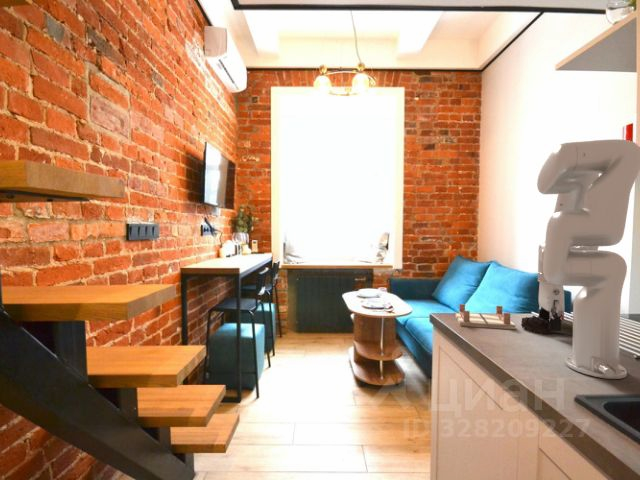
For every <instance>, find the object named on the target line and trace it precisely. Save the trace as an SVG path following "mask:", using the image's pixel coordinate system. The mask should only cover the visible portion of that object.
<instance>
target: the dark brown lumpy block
mask: <svg viewBox="0 0 640 480" xmlns="http://www.w3.org/2000/svg"><path fill="white" fill-rule="evenodd" d="M520 326H521V328H523V329H525V330H529V331H532V332H534V333H536V334H540V335H549V334H551V333H556V334H561V335H567V336H572V337H573V322H572V323H570V322H565V321H564V322H563V321H561V331H553V330H550V329H549V326H550V320H549V321H546V320H544V319H542V318H539V316H536V315H532V316H530V317H529V316H528V317H527V316H526V317H522V318H521V323H520Z"/></svg>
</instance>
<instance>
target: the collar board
mask: <svg viewBox="0 0 640 480" xmlns="http://www.w3.org/2000/svg"><path fill="white" fill-rule="evenodd" d="M495 306H496V307H495V308H496V310H495V311H496V312H495V313H496V314H489V313H487V314H486V313H471V312H470V310H466V304H465V303H459V312H454V313H455V314H454V315H455V316H454V317H455V319H456V320H457V322H458V324H459V327H472V328H475V327H476V328H487V329H488V328H490V329H502V330H503V329H505V330H508V329H509V330H516V329H517V328H516V326H517V325H516V324H515V323H514V322H513V321H512V320H511V312H503V305H495Z"/></svg>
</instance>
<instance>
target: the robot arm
mask: <svg viewBox="0 0 640 480" xmlns="http://www.w3.org/2000/svg"><path fill="white" fill-rule="evenodd" d="M547 157H548V158H547V159H546V160H545V162H544V163H543V164H542V167H541V169H540V171H539V174H538V176H537V177H538V178H537V183H536V186H537V190H538V192H540V194H541V195H557V199H556V203H555V207H554V211H553V214H552V215H551V216H550V218H549V219H548V223H547V224H546V225H547V226H546V230H545V231H546V232H545V240H544V241H545V242H541V243H539V245H538V254H537V255H538V261H537V263H538V264H537V282H539V284H538V285H539V286H538V287H539V288H538V305H539V307H538V317H539V318H542V319H544V320H546V321H550V326H549V329H550V330H553V331H561V322H562V320H563V319H562V313H563V312H564V313H565V290H564V286H565V287H582V288H581V289H580V290H579V291H578V293H577V294H576V296H574V300H573V303H572V304H573V305H572V308H573V311H572V324H573V336H572V355H569V356H566V357H565V359H564V363H565V365H566V366H567V367H568V368H570V369H572V370H573V371H576V372H578V373H581V374H584V375H588V376H590V377H596V378H602V379H609V380H610V379H611V380H618V379H619V380H620V379H624V378H626V377H627V376H628V371H627V369H626V368H625V367H623V365H621V364H620V336H621V335H620V333H621V332H620V331H621V329H620V328H621V302H622V301H621V300H622V292H623V288H624V283H625V280H626V277H627V274H628V273H627V272H628V271H627V270H628V265H627V262H626V260H625V258H624V257H623V256H621V254H618V253H617V252H614V251H610V250H609V251H608V250H600V249H599V247H611V246H615V245H618V244H619V243H620V242H621V241H622V239H623V237H624V234H625V229H626V223H627V222H626V221H627V216H628V209H629V203H630V196H631V191H632V188H633V186H634V184H635V182H636V180H637V178H638V175H639V172H640V146H639V145H638V144H637V143H636V142H635V141H632V140H627V139H618V138H615V139H599V140H585V141H573V142H572V141H571V142H564V143H561V144H558V145H557V146H555V147H554V149H553V150H552V151H551V153H550V155H549V156H547ZM549 312H550V316H551V318H550V319H549ZM553 313H555V314H554V315H553Z"/></svg>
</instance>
